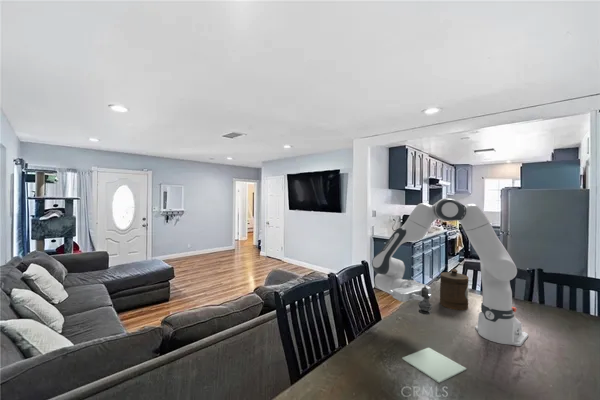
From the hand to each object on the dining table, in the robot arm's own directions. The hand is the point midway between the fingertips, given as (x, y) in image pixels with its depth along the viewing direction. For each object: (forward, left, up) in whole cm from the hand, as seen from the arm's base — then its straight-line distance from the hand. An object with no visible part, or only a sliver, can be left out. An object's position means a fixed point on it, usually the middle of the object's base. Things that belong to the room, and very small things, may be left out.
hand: (426, 297), depth 121 cm
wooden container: (-51, -20, -20) cm, 58 cm away
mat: (+12, +12, -20) cm, 26 cm away
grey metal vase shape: (0, -1, -7) cm, 7 cm away
